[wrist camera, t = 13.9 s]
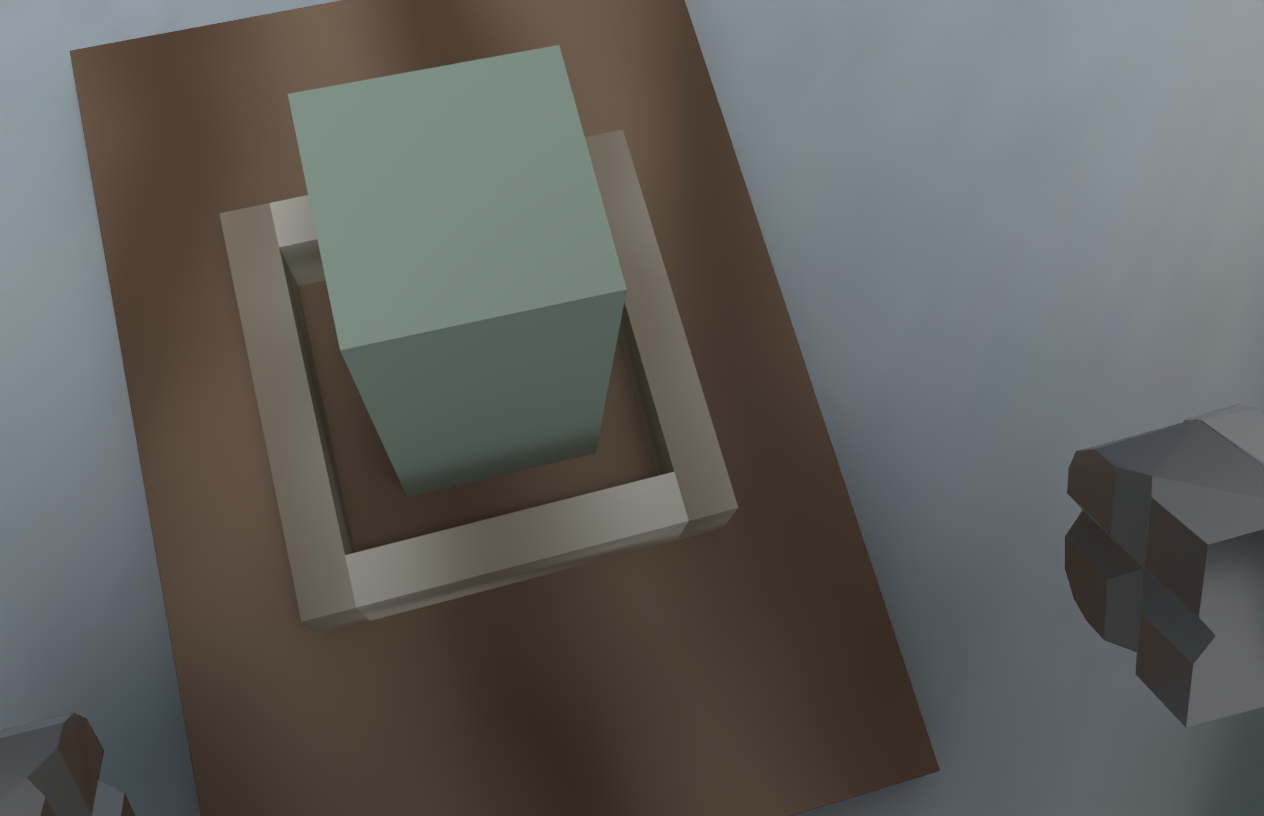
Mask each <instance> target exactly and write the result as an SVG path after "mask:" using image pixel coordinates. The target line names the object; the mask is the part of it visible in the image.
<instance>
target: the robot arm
mask: <svg viewBox="0 0 1264 816" xmlns="http://www.w3.org/2000/svg"><path fill="white" fill-rule="evenodd" d="M1067 493H1068V495H1069V496H1070V497H1071V498H1072V499H1073V500H1074V501H1075V502H1076V503H1077V504H1078V506H1079V507H1080V508H1081V509H1082V512H1081V513H1080V515H1079V516H1078V518H1077V519H1076V521H1075V522H1074V524H1073V525H1072V527H1071V528H1070V530H1069V531H1068V533H1067V534H1066V536H1065V570H1066V574H1067V577H1068V580H1069V584H1070V587H1071V590H1072V594H1073V597H1074V600H1075V601H1076V603H1077V605H1078V607H1079V608H1080V610H1081V612H1082V614H1083V615H1084V617H1085V619H1086V620H1087V621H1088V623H1089V624H1090V625H1091V626H1092V627H1093V628H1094V629H1095V630H1096V632H1097V633H1098V634H1099V635H1100V636H1101V637H1102V638H1103V639H1104V640H1106V641H1108V642H1111V643H1114V644H1116V645H1119V646H1122V647H1124V648H1127V649H1130V650H1132V651H1135V652H1137V655H1136V675H1137V676H1138V677H1139V678H1140V679H1141V680H1142V681H1143V683H1144V684H1145V685H1146V686H1147V687H1148V688H1149V689H1150V690H1151V691H1152V692H1153V693H1154V694H1155V695H1156V696H1157V697H1158V698H1159V700H1160V701H1161V702H1162V703H1163V704H1164V705H1165V706H1166V707H1167V708H1168V709H1169V710H1170V711H1171V712H1172V713H1173V714H1174V716H1175V717H1176V718H1177V719H1178V720H1179V721H1180V722H1181V723H1182V724H1183V725H1184V726H1185V727H1186V728H1188V727H1192V726H1195V725H1199V724H1203V723H1206V722H1210V721H1214V720H1217V719H1221V718H1225V717H1229V716H1232V715H1236V714H1240V713H1243V712H1247V711H1251V710H1254V709H1258V708H1262V707H1264V412H1262V411H1261V410H1259V409H1258V408H1254V407H1250V406H1244V405H1239V404H1237V405H1234V406H1231V407H1227V408H1224V409H1220V410H1217V411H1214V412H1210V413H1207V414H1203V415H1200V416H1197V417H1193V418H1190V419H1186V420H1184V422H1183V423H1180V424H1176V425H1172V426H1168V427H1165V428H1161V429H1157V430H1153V431H1150V432H1146V433H1142V434H1138V435H1135V436H1131V437H1127V438H1123V439H1120V440H1116V441H1112V442H1108V443H1105V444H1101V445H1097V446H1093V447H1090V448H1086V449H1082V450H1078V451H1076V453H1075V455H1074V457H1073V460H1072V462H1071V464H1070V467H1069V474H1068V490H1067ZM103 753H104V750H103V748H102V746H101V744H100V742H99V741H98V739H97V737H96V735H95V733H94V731H93V729H92V728H91V726H90V724H89V722H88V720H87V719H86V718H84V717H82V716H79V715H77V714H75V713H70V714H66V715H62V716H58V717H54V718H50V719H45V720H41V721H37V722H33V723H29V724H25V725H20V726H16V727H12V728H8V729H4V730H0V816H135V814H134V812H133V810H132V808H131V806H130V804H129V802H128V799H127V797H126V795H125V793H124V792H122V791H119V790H117V789H115V788H113V787H111V786H109V785H107V784H105V783H103V782H101V781H99V774H100V769H101V764H102V758H103Z"/></svg>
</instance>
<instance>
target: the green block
mask: <svg viewBox="0 0 1264 816" xmlns="http://www.w3.org/2000/svg"><path fill="white" fill-rule="evenodd" d="M288 98H289V103H290V108H291V113H292V118H293V122H294V127H295V132H296V137H297V142H298V147H299V152H300V157H301V162H302V166H303V171H304V176H305V181H306V186H307V191H308V196H309V201H310V206H311V211H312V215H313V220H314V225H315V230H316V235H317V240H318V245H319V250H320V255H321V260H322V264H323V269H324V274H325V279H326V284H327V289H328V294H329V299H330V304H331V308H332V313H333V318H334V323H335V328H336V333H337V338H338V343H339V348H340V351H341V353H342V356H343V358H344V360H345V362H346V364H347V367H348V369H349V371H350V373H351V375H352V378H353V380H354V382H355V384H356V386H357V389H358V391H359V393H360V395H361V397H362V399H363V402H364V404H365V406H366V408H367V410H368V413H369V415H370V417H371V419H372V421H373V424H374V426H375V428H376V430H377V432H378V435H379V437H380V439H381V441H382V443H383V445H384V448H385V450H386V452H387V454H388V456H389V459H390V461H391V463H392V465H393V467H394V470H395V472H396V474H397V476H398V478H399V481H400V483H401V485H402V487H403V489H404V491H405V494H406V496H407V497H410V496H414V495H419V494H423V493H427V492H432V491H436V490H440V489H445V488H449V487H453V486H458V485H462V484H466V483H470V482H475V481H479V480H483V479H488V478H492V477H496V476H501V475H505V474H509V473H514V472H518V471H522V470H527V469H531V468H535V467H539V466H544V465H548V464H552V463H557V462H561V461H565V460H570V459H574V458H578V457H583V456H587V455H591V454H596V449H597V444H598V438H599V433H600V428H601V422H602V417H603V412H604V407H605V401H606V396H607V391H608V386H609V380H610V375H611V370H612V364H613V359H614V354H615V349H616V343H617V338H618V333H619V327H620V322H621V317H622V312H623V306H624V301H625V296H626V290H627V289H626V285H625V281H624V278H623V274H622V270H621V267H620V263H619V260H618V256H617V252H616V249H615V245H614V242H613V238H612V234H611V231H610V227H609V223H608V220H607V216H606V213H605V209H604V205H603V202H602V198H601V194H600V191H599V187H598V184H597V180H596V176H595V173H594V169H593V165H592V162H591V158H590V155H589V151H588V147H587V144H586V140H585V136H584V133H583V129H582V126H581V122H580V118H579V115H578V111H577V107H576V104H575V100H574V97H573V93H572V89H571V86H570V82H569V79H568V75H567V71H566V68H565V64H564V60H563V57H562V53H561V50H560V46H559V45H556V46H550V47H545V48H539V49H534V50H528V51H523V52H517V53H512V54H506V55H500V56H495V57H489V58H484V59H478V60H473V61H467V62H462V63H456V64H451V65H445V66H440V67H434V68H429V69H423V70H418V71H412V72H406V73H401V74H395V75H390V76H384V77H379V78H373V79H368V80H362V81H357V82H351V83H346V84H340V85H335V86H329V87H323V88H318V89H312V90H307V91H301V92H296V93H290V94H288Z"/></svg>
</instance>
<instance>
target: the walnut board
mask: <svg viewBox="0 0 1264 816" xmlns="http://www.w3.org/2000/svg"><path fill="white" fill-rule="evenodd" d="M556 45H559V46H560V50H561V53H562V57H563V60H564V64H565V68H566V71H567V75H568V79H569V82H570V86H571V89H572V93H573V97H574V100H575V104H576V107H577V111H578V115H579V118H580V122H581V126H582V129H583V133H584V136H585V140H586V144H587V147H588V151H589V155H590V158H591V162H592V165H593V169H594V173H595V176H596V180H597V184H598V187H599V191H600V194H601V198H602V202H603V205H604V209H605V213H606V216H607V220H608V223H609V227H610V231H611V234H612V238H613V242H614V245H615V249H616V252H617V256H618V260H619V263H620V267H621V270H622V274H623V278H624V281H625V285H626V289H627V290H626V296H625V301H624V306H623V312H622V317H621V322H620V327H619V333H618V338H617V343H616V349H615V354H614V359H613V364H612V370H611V375H610V380H609V386H608V391H607V396H606V401H605V407H604V412H603V417H602V422H601V428H600V433H599V438H598V444H597V449H596V454H591V455H587V456H583V457H578V458H574V459H570V460H565V461H561V462H557V463H552V464H548V465H544V466H539V467H535V468H531V469H527V470H522V471H518V472H514V473H509V474H505V475H501V476H496V477H492V478H488V479H483V480H479V481H475V482H470V483H466V484H462V485H458V486H453V487H449V488H445V489H440V490H436V491H432V492H427V493H423V494H419V495H414V496H410V497H407V496H406V494H405V491H404V489H403V487H402V485H401V483H400V481H399V478H398V476H397V474H396V472H395V470H394V467H393V465H392V463H391V461H390V459H389V456H388V454H387V452H386V450H385V448H384V445H383V443H382V441H381V439H380V437H379V435H378V432H377V430H376V428H375V426H374V424H373V421H372V419H371V417H370V415H369V413H368V410H367V408H366V406H365V404H364V402H363V399H362V397H361V395H360V393H359V391H358V389H357V386H356V384H355V382H354V380H353V378H352V375H351V373H350V371H349V369H348V367H347V364H346V362H345V360H344V358H343V356H342V353H341V351H340V348H339V343H338V338H337V333H336V328H335V323H334V318H333V313H332V308H331V304H330V299H329V294H328V289H327V284H326V279H325V274H324V269H323V264H322V260H321V255H320V250H319V245H318V240H317V235H316V230H315V225H314V220H313V215H312V211H311V206H310V201H309V196H308V191H307V186H306V181H305V176H304V171H303V166H302V162H301V157H300V152H299V147H298V142H297V137H296V132H295V127H294V122H293V118H292V113H291V108H290V103H289V98H288V94H290V93H296V92H301V91H307V90H312V89H318V88H323V87H329V86H335V85H340V84H346V83H351V82H357V81H362V80H368V79H373V78H379V77H384V76H390V75H395V74H401V73H406V72H412V71H418V70H423V69H429V68H434V67H440V66H445V65H451V64H456V63H462V62H467V61H473V60H478V59H484V58H489V57H495V56H500V55H506V54H512V53H517V52H523V51H528V50H534V49H539V48H545V47H550V46H556ZM70 55H71V61H72V67H73V73H74V78H75V84H76V90H77V96H78V102H79V108H80V113H81V119H82V125H83V131H84V137H85V142H86V148H87V154H88V160H89V166H90V172H91V177H92V183H93V189H94V195H95V201H96V207H97V212H98V218H99V224H100V230H101V236H102V242H103V247H104V253H105V259H106V265H107V271H108V277H109V282H110V288H111V294H112V300H113V306H114V312H115V317H116V323H117V329H118V335H119V341H120V346H121V352H122V358H123V364H124V370H125V376H126V381H127V387H128V393H129V399H130V405H131V411H132V416H133V422H134V428H135V434H136V440H137V446H138V451H139V457H140V463H141V469H142V475H143V481H144V486H145V492H146V498H147V504H148V510H149V516H150V521H151V527H152V533H153V539H154V545H155V550H156V556H157V562H158V568H159V574H160V580H161V585H162V591H163V597H164V603H165V609H166V615H167V620H168V626H169V632H170V638H171V644H172V650H173V655H174V661H175V667H176V673H177V679H178V685H179V690H180V696H181V702H182V708H183V714H184V720H185V725H186V731H187V737H188V743H189V749H190V755H191V760H192V766H193V772H194V778H195V784H196V789H197V795H198V801H199V807H200V813H201V816H792V815H795V814H799V813H802V812H805V811H808V810H812V809H815V808H818V807H822V806H825V805H828V804H832V803H835V802H838V801H842V800H845V799H848V798H851V797H855V796H858V795H861V794H865V793H868V792H871V791H875V790H878V789H881V788H884V787H888V786H891V785H894V784H898V783H901V782H904V781H908V780H911V779H914V778H917V777H921V776H924V775H927V774H931V773H934V772H937V771H940V770H939V767H938V764H937V761H936V758H935V755H934V752H933V749H932V746H931V743H930V740H929V737H928V734H927V731H926V728H925V725H924V722H923V719H922V716H921V713H920V710H919V706H918V703H917V700H916V697H915V694H914V691H913V688H912V685H911V682H910V679H909V676H908V673H907V670H906V667H905V664H904V661H903V658H902V655H901V652H900V649H899V646H898V643H897V640H896V637H895V634H894V631H893V628H892V625H891V622H890V619H889V616H888V613H887V610H886V607H885V604H884V601H883V598H882V595H881V592H880V589H879V586H878V583H877V580H876V577H875V574H874V571H873V568H872V565H871V562H870V559H869V556H868V553H867V550H866V547H865V544H864V541H863V538H862V535H861V532H860V529H859V525H858V522H857V519H856V516H855V513H854V510H853V507H852V504H851V501H850V498H849V495H848V492H847V489H846V486H845V483H844V480H843V477H842V474H841V471H840V468H839V465H838V462H837V459H836V456H835V453H834V450H833V447H832V444H831V441H830V438H829V435H828V432H827V429H826V426H825V423H824V420H823V417H822V414H821V411H820V408H819V405H818V402H817V399H816V396H815V393H814V390H813V387H812V384H811V381H810V378H809V375H808V372H807V369H806V366H805V363H804V360H803V357H802V354H801V351H800V348H799V345H798V341H797V338H796V335H795V332H794V329H793V326H792V323H791V320H790V317H789V314H788V311H787V308H786V305H785V302H784V299H783V296H782V293H781V290H780V287H779V284H778V281H777V278H776V275H775V272H774V269H773V266H772V263H771V260H770V257H769V254H768V251H767V248H766V245H765V242H764V239H763V236H762V233H761V230H760V227H759V224H758V221H757V218H756V215H755V212H754V209H753V206H752V203H751V200H750V197H749V194H748V191H747V188H746V185H745V182H744V179H743V176H742V173H741V170H740V167H739V164H738V160H737V157H736V154H735V151H734V148H733V145H732V142H731V139H730V136H729V133H728V130H727V127H726V124H725V121H724V118H723V115H722V112H721V109H720V106H719V103H718V100H717V97H716V94H715V91H714V88H713V85H712V82H711V79H710V76H709V73H708V70H707V67H706V64H705V61H704V58H703V55H702V52H701V49H700V46H699V43H698V40H697V37H696V34H695V31H694V28H693V25H692V22H691V19H690V16H689V13H688V10H687V7H686V4H685V1H684V0H342V1H336V2H331V3H326V4H320V5H315V6H309V7H304V8H299V9H293V10H288V11H282V12H277V13H272V14H266V15H261V16H255V17H250V18H245V19H239V20H234V21H228V22H223V23H218V24H212V25H207V26H201V27H196V28H191V29H185V30H180V31H175V32H169V33H164V34H158V35H153V36H148V37H142V38H137V39H131V40H126V41H121V42H115V43H110V44H104V45H99V46H94V47H88V48H83V49H77V50H72V51H70Z"/></svg>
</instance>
